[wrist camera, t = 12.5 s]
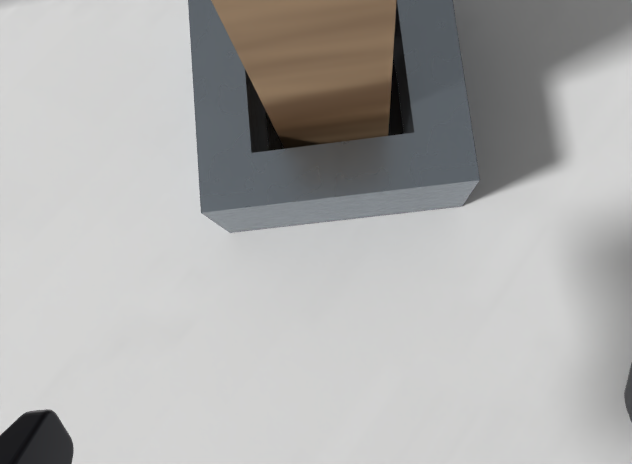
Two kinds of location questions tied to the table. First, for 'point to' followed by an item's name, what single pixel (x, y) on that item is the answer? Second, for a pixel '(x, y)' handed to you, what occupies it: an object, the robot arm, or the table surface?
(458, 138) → the square collar
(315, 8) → the walnut peg
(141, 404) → the table surface
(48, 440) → the robot arm
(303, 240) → the table surface
